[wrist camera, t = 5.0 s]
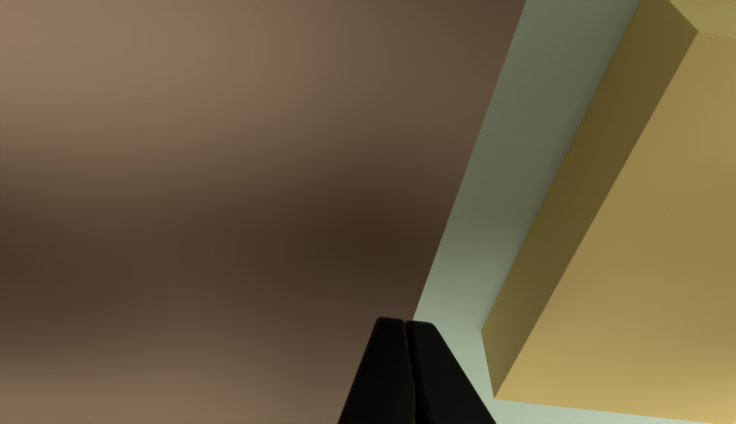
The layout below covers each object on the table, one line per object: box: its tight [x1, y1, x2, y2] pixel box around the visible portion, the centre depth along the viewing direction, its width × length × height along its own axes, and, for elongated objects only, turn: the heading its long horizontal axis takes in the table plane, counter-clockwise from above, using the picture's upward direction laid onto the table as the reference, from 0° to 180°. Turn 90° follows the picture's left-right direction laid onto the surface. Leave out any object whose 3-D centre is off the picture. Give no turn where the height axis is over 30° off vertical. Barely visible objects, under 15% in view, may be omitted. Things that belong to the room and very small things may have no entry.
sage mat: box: [413, 0, 736, 424], centre depth 14 cm, size 24×12×1 cm, turn 169°
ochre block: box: [481, 0, 736, 424], centre depth 13 cm, size 9×6×2 cm, turn 168°
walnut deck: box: [0, 0, 526, 424], centre depth 11 cm, size 20×12×4 cm, turn 169°
